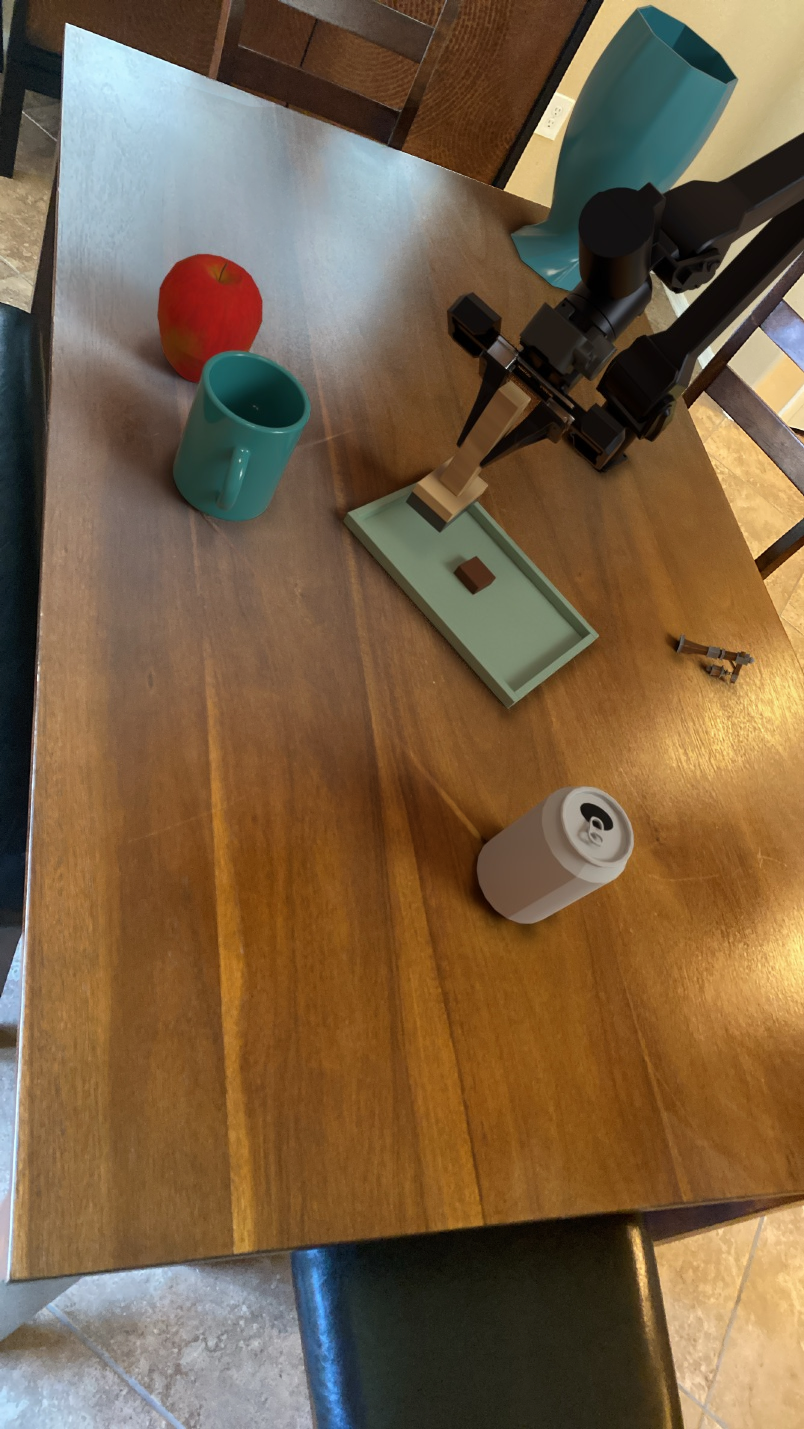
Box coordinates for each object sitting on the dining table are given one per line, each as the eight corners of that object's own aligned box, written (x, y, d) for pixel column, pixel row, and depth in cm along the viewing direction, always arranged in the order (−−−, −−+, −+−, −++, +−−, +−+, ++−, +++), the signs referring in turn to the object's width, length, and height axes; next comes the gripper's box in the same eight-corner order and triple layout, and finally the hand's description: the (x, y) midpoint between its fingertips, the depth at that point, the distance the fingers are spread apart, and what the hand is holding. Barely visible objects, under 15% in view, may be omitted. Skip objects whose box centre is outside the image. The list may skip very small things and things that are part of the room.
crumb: (470, 562, 87) (476, 555, 86) (490, 584, 87) (496, 577, 86) (453, 572, 85) (458, 565, 84) (473, 595, 85) (479, 588, 84)
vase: (522, 281, 122) (660, 54, 100) (491, 207, 130) (613, -21, 107) (615, 312, 131) (763, 108, 108) (581, 239, 138) (712, 35, 115)
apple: (229, 345, 88) (265, 238, 79) (248, 410, 85) (287, 306, 76) (136, 329, 84) (163, 213, 74) (152, 397, 80) (182, 284, 71)
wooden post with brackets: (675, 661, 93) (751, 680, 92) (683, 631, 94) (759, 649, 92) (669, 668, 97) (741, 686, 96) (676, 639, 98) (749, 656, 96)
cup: (155, 529, 73) (187, 430, 64) (180, 434, 79) (211, 333, 71) (259, 563, 76) (302, 473, 67) (274, 469, 82) (315, 376, 74)
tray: (440, 480, 92) (447, 468, 91) (589, 645, 89) (599, 635, 88) (340, 524, 82) (347, 512, 81) (504, 711, 80) (514, 702, 78)
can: (558, 865, 73) (649, 807, 64) (540, 943, 69) (636, 893, 60) (484, 823, 72) (566, 758, 63) (460, 900, 67) (545, 842, 58)
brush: (442, 473, 86) (514, 363, 75) (475, 503, 86) (551, 397, 75) (404, 502, 81) (476, 389, 71) (439, 533, 81) (515, 425, 71)
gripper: (515, 199, 68) (382, 353, 69) (693, 358, 68) (555, 509, 69) (509, 265, 79) (394, 397, 81) (661, 402, 79) (543, 531, 80)
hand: (469, 456), depth 77 cm, fingers closed on brush, 2 cm apart
